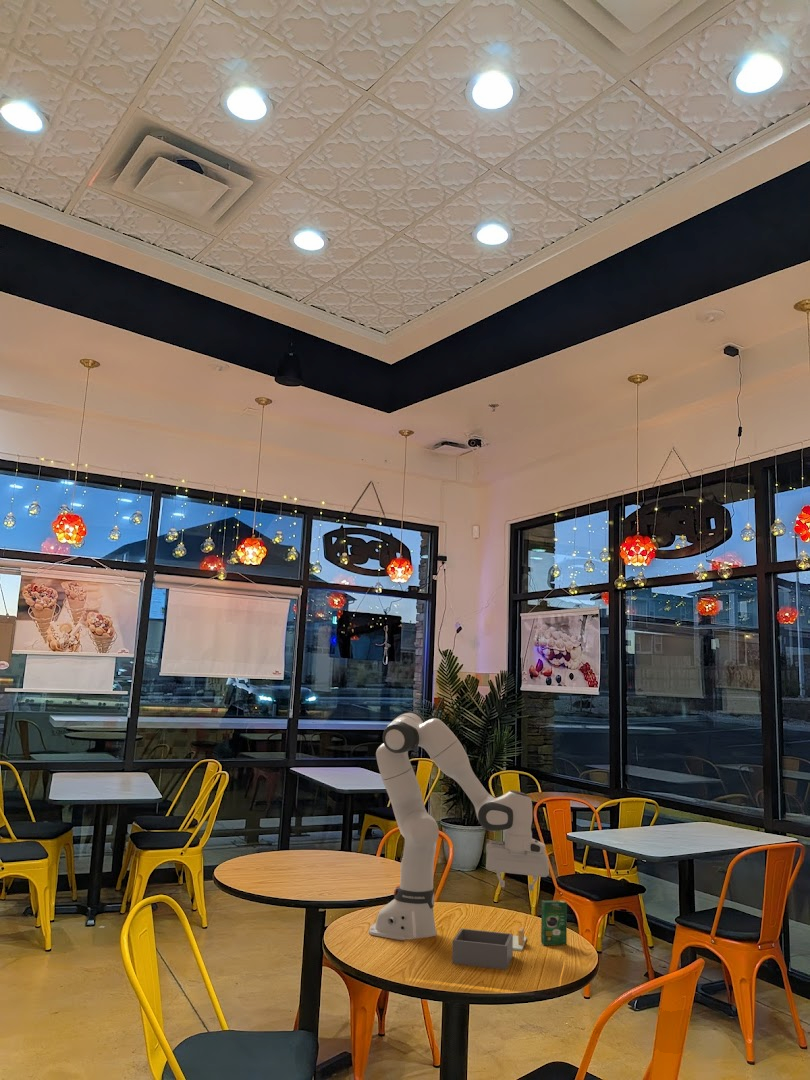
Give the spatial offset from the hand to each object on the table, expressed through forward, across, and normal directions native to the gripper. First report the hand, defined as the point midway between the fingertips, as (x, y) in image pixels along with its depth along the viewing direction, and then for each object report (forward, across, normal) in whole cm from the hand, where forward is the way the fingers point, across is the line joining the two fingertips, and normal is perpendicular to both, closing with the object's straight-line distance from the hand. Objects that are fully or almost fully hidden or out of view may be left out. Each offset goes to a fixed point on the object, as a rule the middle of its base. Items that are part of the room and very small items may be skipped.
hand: (516, 888), depth 249 cm
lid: (+17, -5, 0) cm, 18 cm away
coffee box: (+17, +12, +7) cm, 22 cm away
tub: (+18, -7, -19) cm, 27 cm away
